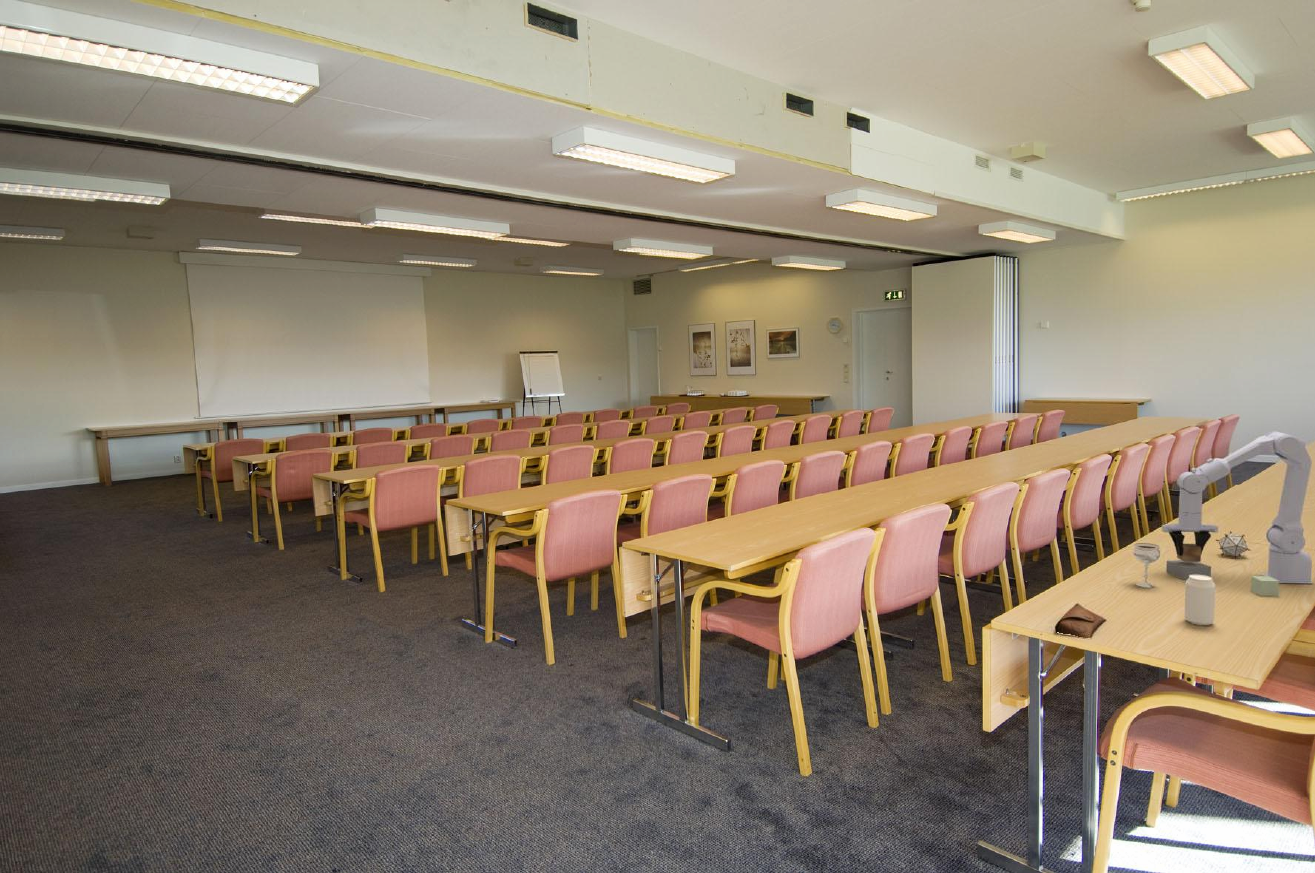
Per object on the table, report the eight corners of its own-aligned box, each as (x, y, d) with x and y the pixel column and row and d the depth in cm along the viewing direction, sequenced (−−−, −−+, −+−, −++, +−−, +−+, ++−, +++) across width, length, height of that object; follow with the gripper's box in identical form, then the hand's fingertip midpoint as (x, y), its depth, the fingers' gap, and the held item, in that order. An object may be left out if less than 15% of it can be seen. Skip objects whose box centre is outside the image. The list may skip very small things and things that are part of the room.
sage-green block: (1268, 591, 216) (1269, 576, 215) (1278, 596, 212) (1279, 580, 211) (1251, 591, 217) (1251, 575, 216) (1260, 596, 212) (1260, 580, 212)
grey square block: (1191, 572, 237) (1191, 559, 237) (1210, 579, 229) (1211, 566, 229) (1166, 573, 237) (1166, 560, 237) (1184, 580, 229) (1185, 567, 229)
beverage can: (1181, 623, 195) (1183, 577, 193) (1187, 616, 199) (1188, 572, 198) (1211, 628, 190) (1213, 582, 189) (1216, 621, 194) (1217, 576, 193)
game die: (1229, 568, 250) (1213, 546, 249) (1222, 553, 257) (1206, 531, 256) (1259, 558, 245) (1244, 535, 244) (1251, 543, 252) (1236, 521, 251)
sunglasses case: (1092, 640, 186) (1077, 614, 187) (1064, 648, 190) (1050, 623, 192) (1108, 619, 199) (1093, 595, 201) (1082, 627, 204) (1068, 604, 205)
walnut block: (1193, 557, 234) (1193, 543, 234) (1200, 561, 230) (1201, 547, 229) (1177, 557, 235) (1177, 543, 235) (1184, 561, 231) (1184, 547, 230)
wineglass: (1135, 587, 224) (1136, 547, 223) (1130, 580, 230) (1131, 542, 229) (1161, 589, 221) (1163, 549, 220) (1156, 582, 228) (1157, 543, 226)
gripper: (1210, 508, 233) (1208, 551, 235) (1158, 508, 236) (1156, 551, 238) (1222, 513, 227) (1220, 557, 228) (1168, 513, 230) (1167, 557, 231)
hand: (1188, 555), depth 232 cm, fingers closed on walnut block, 4 cm apart
